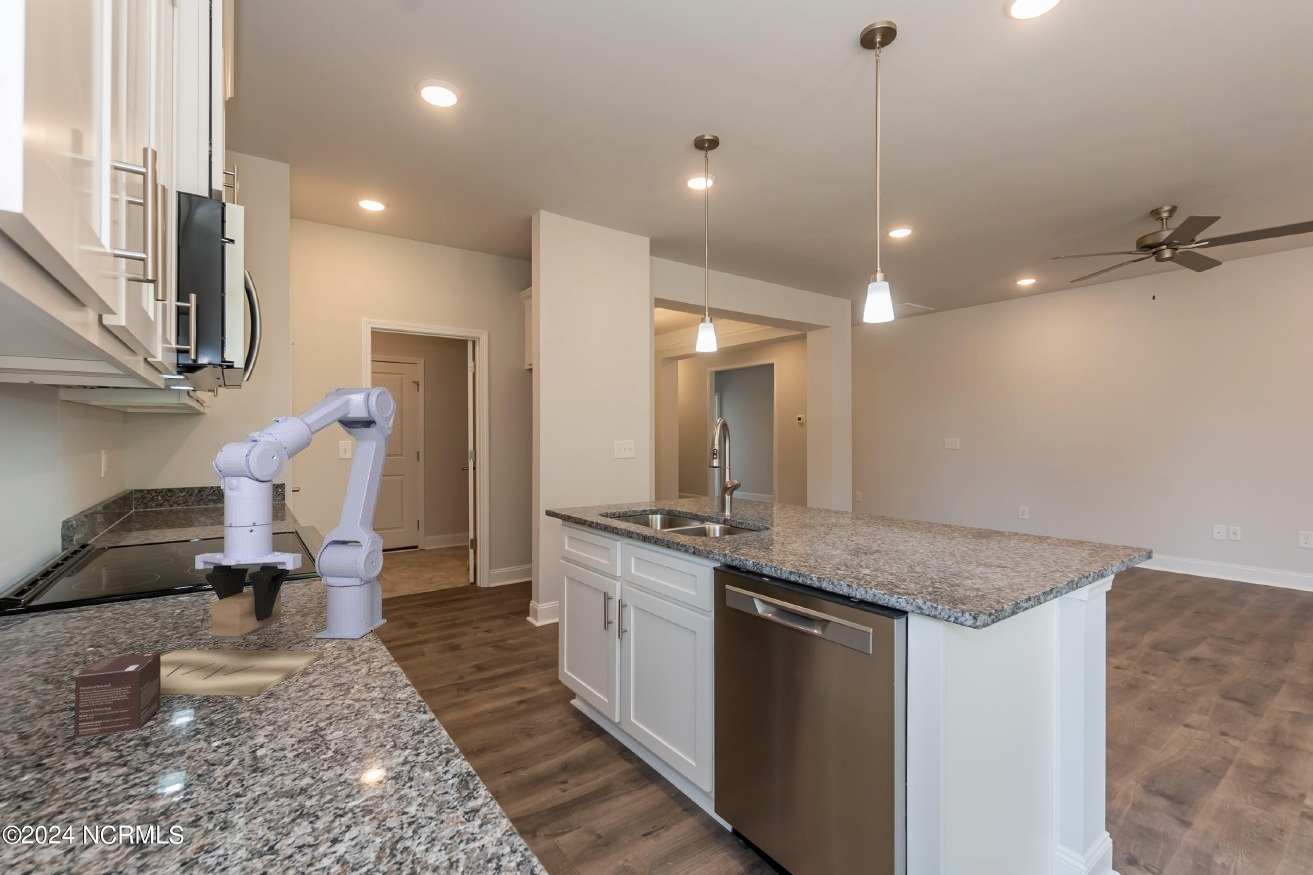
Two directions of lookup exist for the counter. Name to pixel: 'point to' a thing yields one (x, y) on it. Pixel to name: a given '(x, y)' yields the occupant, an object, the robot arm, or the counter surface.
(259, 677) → the board
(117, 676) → the box
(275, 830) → the counter surface
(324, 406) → the robot arm
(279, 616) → the sanding block
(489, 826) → the counter surface
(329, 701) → the counter surface
